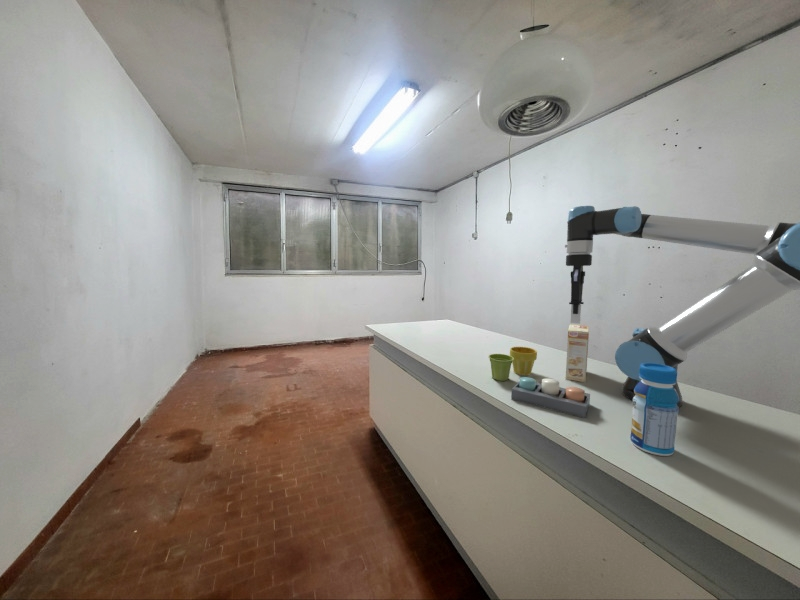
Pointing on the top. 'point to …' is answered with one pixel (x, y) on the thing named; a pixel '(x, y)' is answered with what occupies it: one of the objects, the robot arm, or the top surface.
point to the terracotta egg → (575, 394)
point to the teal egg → (527, 383)
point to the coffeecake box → (577, 352)
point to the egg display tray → (551, 400)
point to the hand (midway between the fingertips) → (575, 322)
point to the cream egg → (550, 387)
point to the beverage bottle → (655, 409)
